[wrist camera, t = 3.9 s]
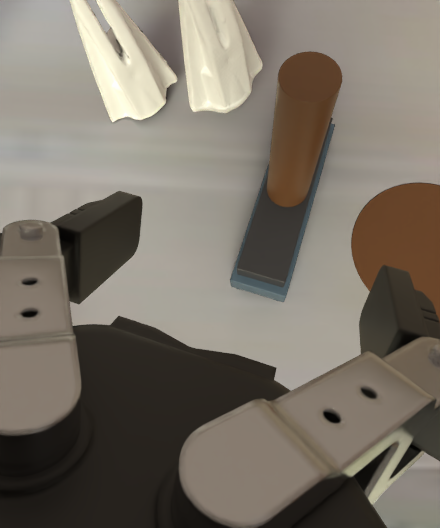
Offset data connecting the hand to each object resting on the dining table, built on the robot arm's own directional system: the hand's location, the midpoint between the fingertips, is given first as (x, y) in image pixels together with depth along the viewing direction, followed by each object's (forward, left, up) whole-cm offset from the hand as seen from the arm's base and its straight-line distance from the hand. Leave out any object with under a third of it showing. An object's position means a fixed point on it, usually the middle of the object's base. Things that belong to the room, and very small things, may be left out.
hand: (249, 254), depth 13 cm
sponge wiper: (-6, +6, -14) cm, 16 cm away
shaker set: (-18, +4, -14) cm, 23 cm away
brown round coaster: (+1, +13, -14) cm, 19 cm away
